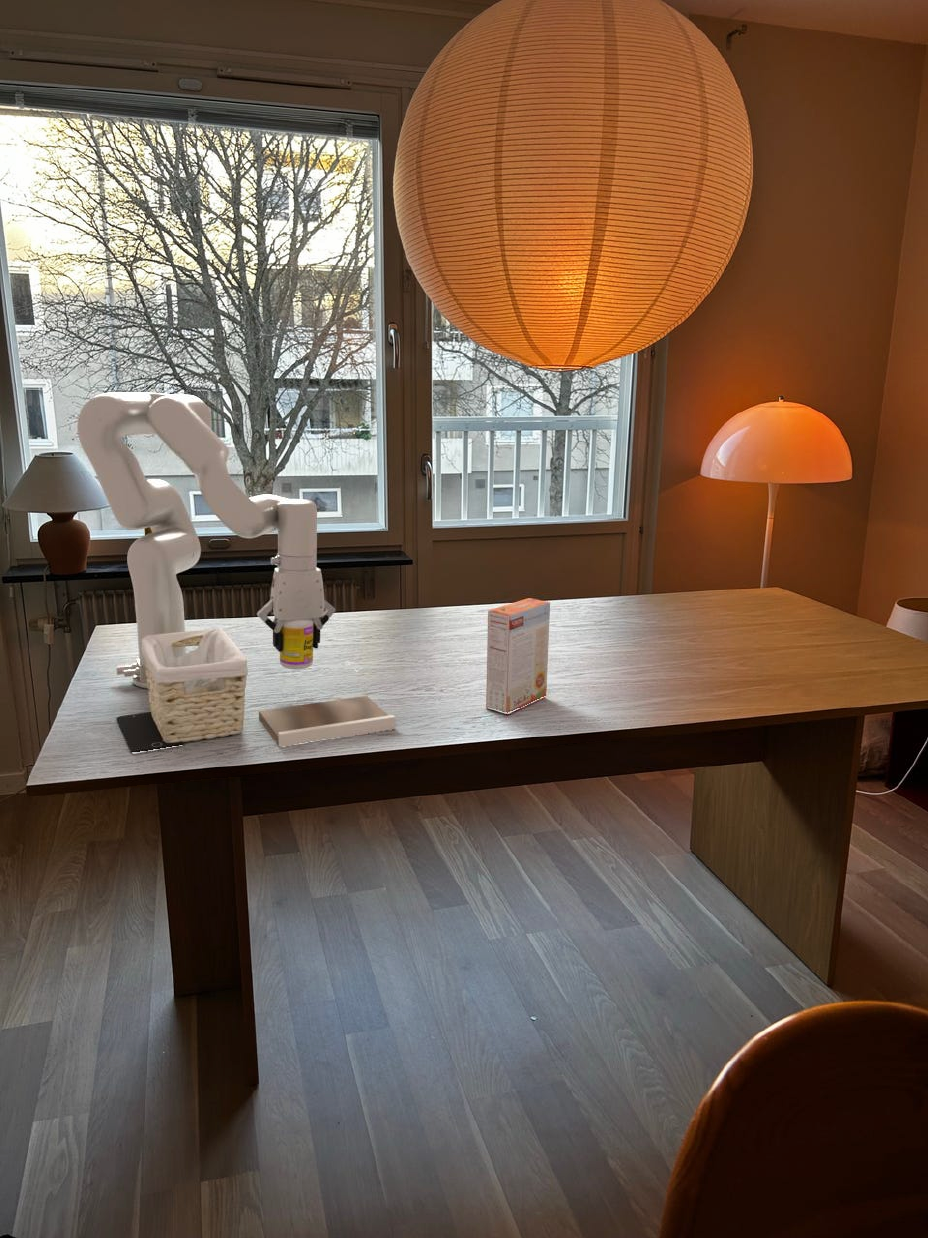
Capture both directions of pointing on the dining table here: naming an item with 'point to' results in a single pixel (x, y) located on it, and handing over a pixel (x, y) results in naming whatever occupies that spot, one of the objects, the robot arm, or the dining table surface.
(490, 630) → the cracker box
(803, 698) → the dining table surface
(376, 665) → the dining table surface
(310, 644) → the supplement bottle
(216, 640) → the storage basket
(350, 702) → the shelf board
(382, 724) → the rail
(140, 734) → the cell phone
